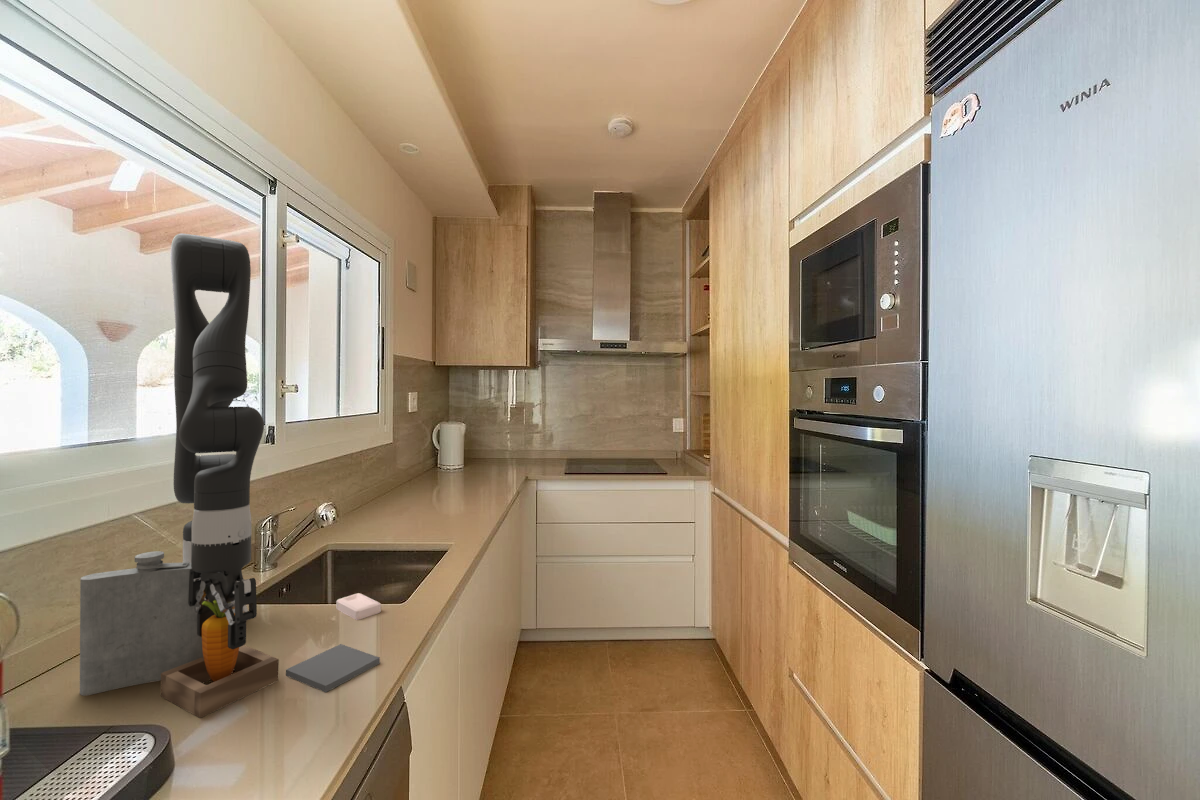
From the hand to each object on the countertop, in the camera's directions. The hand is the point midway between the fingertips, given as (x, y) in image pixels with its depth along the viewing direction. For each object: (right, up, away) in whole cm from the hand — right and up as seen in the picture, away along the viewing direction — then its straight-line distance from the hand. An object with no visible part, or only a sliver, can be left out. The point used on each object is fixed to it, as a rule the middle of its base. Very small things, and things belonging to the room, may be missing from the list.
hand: (221, 640), depth 81 cm
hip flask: (-14, -8, +3) cm, 16 cm away
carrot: (0, -8, 0) cm, 8 cm away
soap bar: (+7, -8, +30) cm, 32 cm away
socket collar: (0, -8, 0) cm, 8 cm away
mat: (+14, -8, +6) cm, 17 cm away
